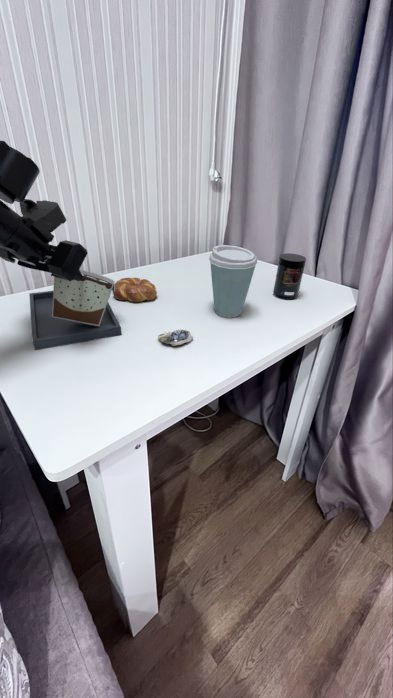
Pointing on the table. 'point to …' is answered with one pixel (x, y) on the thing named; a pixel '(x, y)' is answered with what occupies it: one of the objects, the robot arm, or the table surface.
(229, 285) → the disposable coffee cup
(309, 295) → the table surface
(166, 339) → the crystal geode
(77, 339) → the tray
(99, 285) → the food container
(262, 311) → the table surface
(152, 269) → the table surface
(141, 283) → the pretzel
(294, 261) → the supplement container
